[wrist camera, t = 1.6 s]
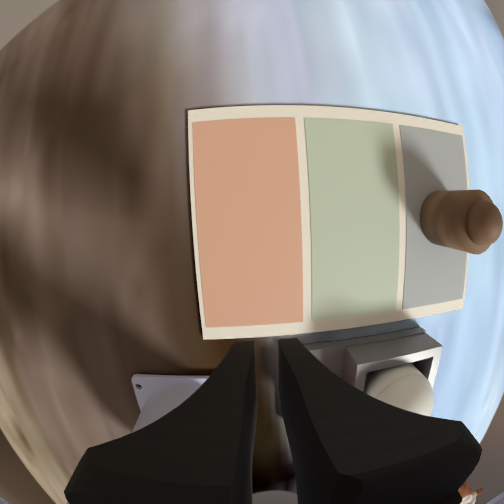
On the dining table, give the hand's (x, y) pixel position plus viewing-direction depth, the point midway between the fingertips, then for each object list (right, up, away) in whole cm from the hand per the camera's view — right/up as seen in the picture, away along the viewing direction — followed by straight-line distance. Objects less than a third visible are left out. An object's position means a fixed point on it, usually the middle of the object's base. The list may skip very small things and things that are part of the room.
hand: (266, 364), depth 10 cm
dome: (+10, -6, +9) cm, 14 cm away
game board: (+6, +6, +9) cm, 12 cm away
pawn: (+13, +6, +9) cm, 17 cm away
